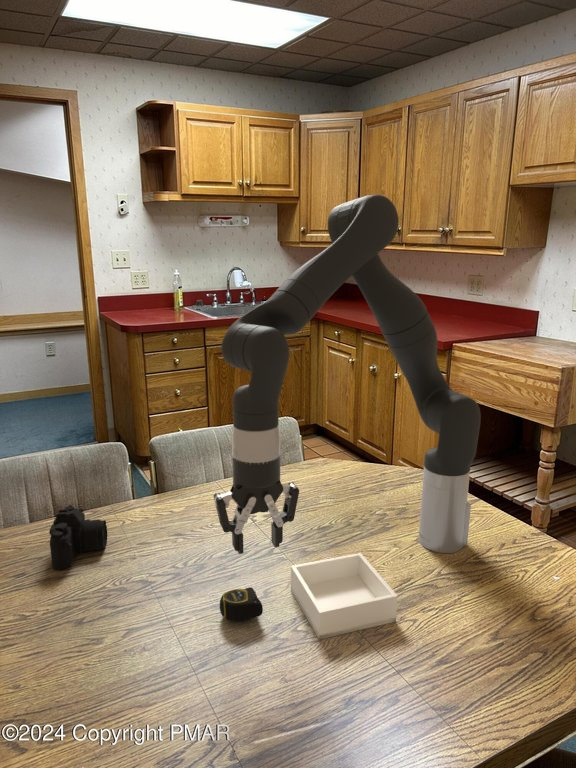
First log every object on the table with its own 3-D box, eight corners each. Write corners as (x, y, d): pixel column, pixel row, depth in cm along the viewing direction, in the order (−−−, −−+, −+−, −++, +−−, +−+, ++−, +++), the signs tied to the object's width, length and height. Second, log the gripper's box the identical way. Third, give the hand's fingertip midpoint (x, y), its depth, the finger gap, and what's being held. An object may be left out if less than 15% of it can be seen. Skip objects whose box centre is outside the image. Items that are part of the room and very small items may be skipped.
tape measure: (264, 622, 94) (263, 600, 94) (223, 629, 93) (221, 607, 93) (256, 604, 101) (255, 583, 101) (218, 611, 99) (216, 590, 99)
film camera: (99, 570, 111) (95, 528, 108) (47, 574, 109) (42, 532, 107) (111, 531, 125) (108, 494, 123) (65, 534, 124) (61, 496, 122)
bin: (359, 576, 109) (360, 552, 108) (395, 621, 96) (397, 595, 95) (290, 589, 105) (290, 565, 103) (319, 639, 92) (319, 612, 91)
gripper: (291, 438, 95) (291, 530, 99) (206, 448, 90) (209, 544, 94) (307, 454, 88) (306, 552, 92) (216, 466, 83) (219, 568, 88)
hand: (257, 547), depth 93 cm, fingers open, 5 cm apart
